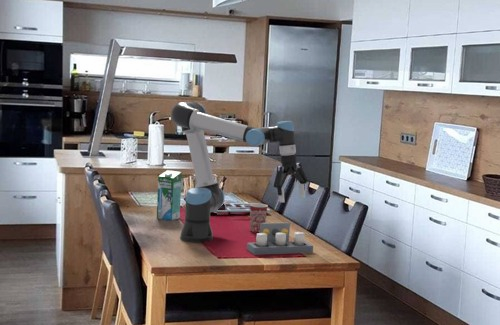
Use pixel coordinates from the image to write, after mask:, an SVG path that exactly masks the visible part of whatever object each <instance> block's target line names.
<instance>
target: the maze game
mask: <svg viewBox="0 0 500 325" xmlns="http://www.w3.org/2000/svg"><path fill="white" fill-rule="evenodd" d="M223 204H224V205H225V210H216V211H213V212H217V215H216V216H228V215H230V214H236V215H250V204H255V202H253V203H252V202H251V203H249V202H246V203H245V202H244V203H242V202H241V203H240V202H239V203H238V202H237V203H235V202H233V203H232V202H231V203H230V202H229V203H227V202H226V203H225V202H224V203H223ZM257 204H261V203H257ZM267 212H271V209H270V208H268V207H267Z"/></svg>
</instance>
